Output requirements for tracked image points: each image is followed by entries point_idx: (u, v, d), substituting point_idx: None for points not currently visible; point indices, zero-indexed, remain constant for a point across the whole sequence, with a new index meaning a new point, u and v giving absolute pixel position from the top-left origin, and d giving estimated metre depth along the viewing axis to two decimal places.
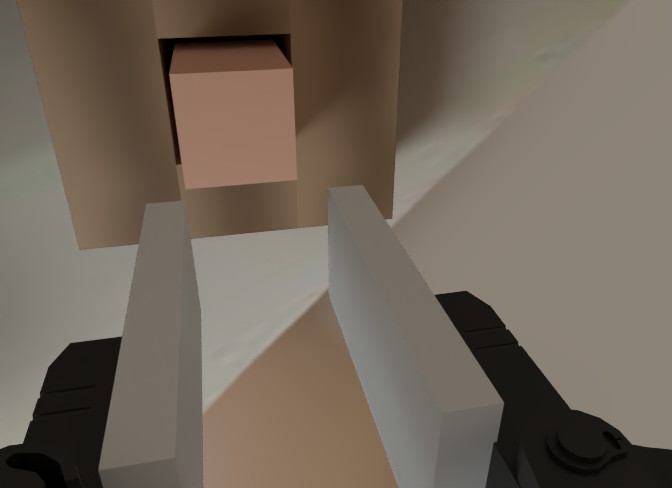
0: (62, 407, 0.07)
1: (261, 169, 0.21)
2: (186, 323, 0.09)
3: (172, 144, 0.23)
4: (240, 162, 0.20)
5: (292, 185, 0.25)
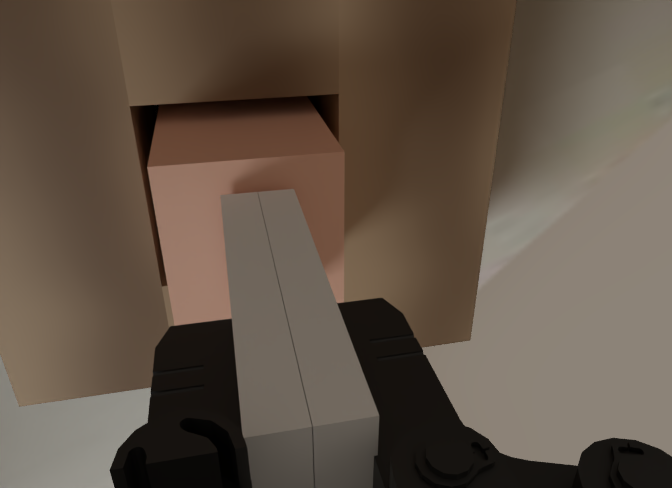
0: (177, 385, 0.08)
1: None
2: None
3: (156, 258, 0.15)
4: None
5: None
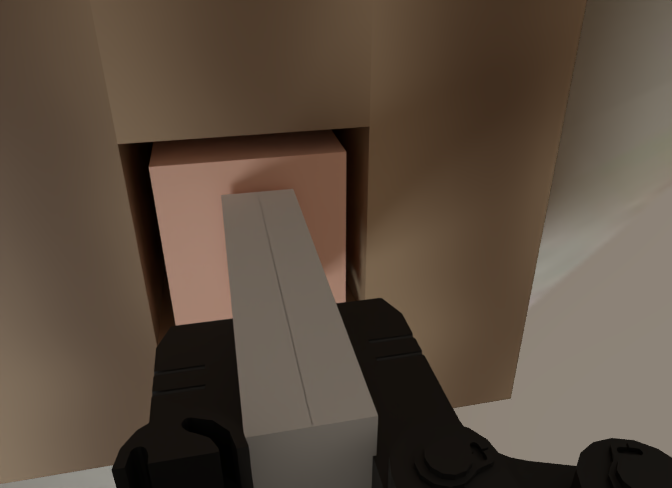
0: (178, 385, 0.08)
1: None
2: None
3: (150, 317, 0.13)
4: None
5: None
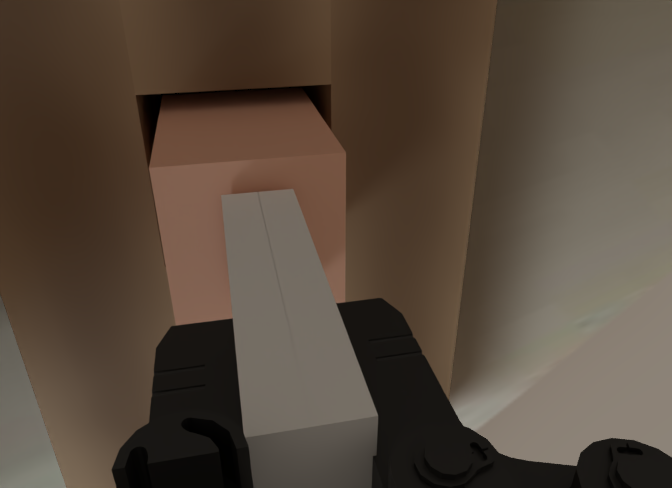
0: (178, 385, 0.08)
1: None
2: None
3: None
4: None
5: None
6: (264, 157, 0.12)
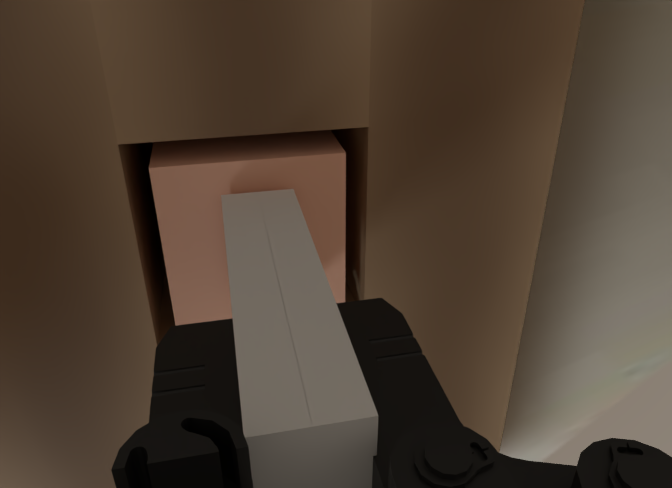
0: (178, 385, 0.08)
1: None
2: None
3: None
4: None
5: None
6: (263, 158, 0.12)
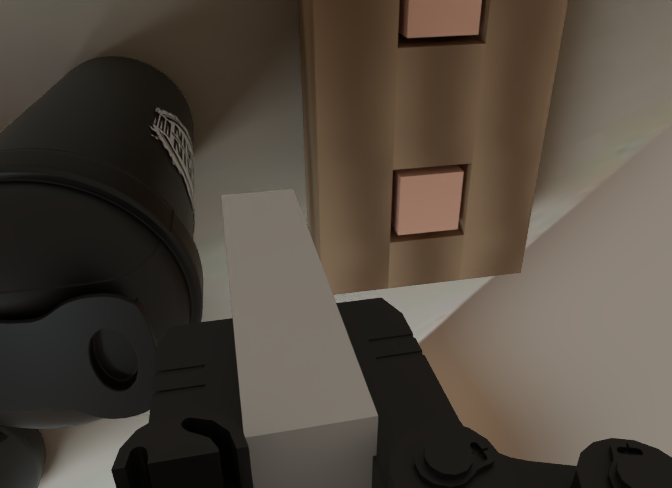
0: (178, 384, 0.08)
1: (439, 223, 0.37)
2: None
3: (389, 230, 0.36)
4: (429, 220, 0.36)
5: (459, 253, 0.38)
6: None
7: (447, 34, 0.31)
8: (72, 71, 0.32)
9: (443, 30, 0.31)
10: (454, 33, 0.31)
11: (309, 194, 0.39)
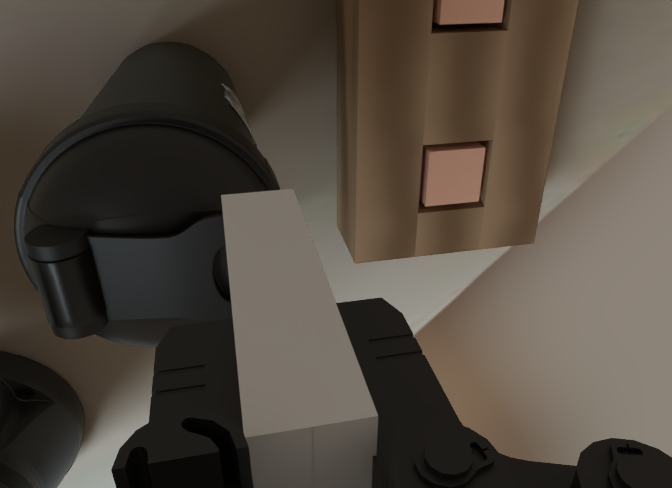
0: (178, 385, 0.08)
1: (462, 196, 0.40)
2: None
3: (418, 202, 0.40)
4: (453, 193, 0.40)
5: (479, 224, 0.42)
6: None
7: (474, 21, 0.35)
8: (135, 54, 0.35)
9: (471, 18, 0.35)
10: (481, 21, 0.35)
11: (342, 171, 0.42)
